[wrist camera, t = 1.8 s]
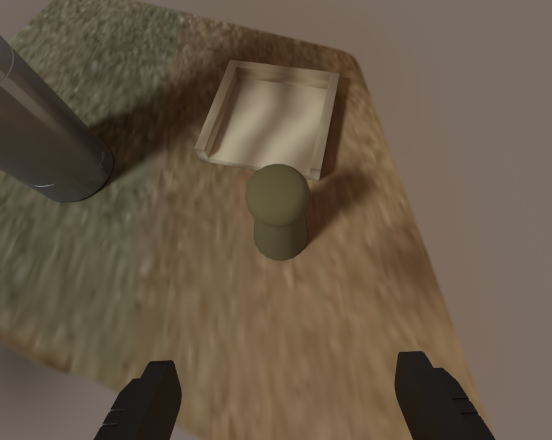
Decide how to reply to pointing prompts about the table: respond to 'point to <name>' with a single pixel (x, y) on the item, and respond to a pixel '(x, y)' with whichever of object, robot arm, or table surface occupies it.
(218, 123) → the beige square tray
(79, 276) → the table surface
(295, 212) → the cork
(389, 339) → the table surface
